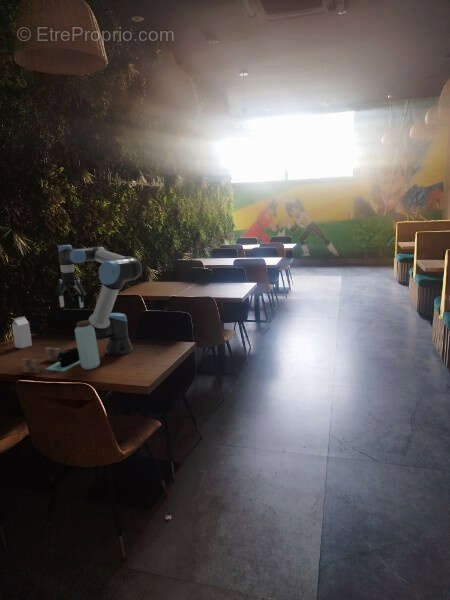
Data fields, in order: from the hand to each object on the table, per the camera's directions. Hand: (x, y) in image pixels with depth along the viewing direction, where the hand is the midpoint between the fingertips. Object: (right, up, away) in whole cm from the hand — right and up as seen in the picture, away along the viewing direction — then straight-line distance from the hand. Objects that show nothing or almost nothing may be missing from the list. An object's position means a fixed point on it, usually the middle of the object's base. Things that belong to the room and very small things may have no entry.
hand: (72, 307), depth 247 cm
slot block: (-8, -32, -20) cm, 39 cm away
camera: (+5, -31, -18) cm, 36 cm away
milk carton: (-37, -25, +16) cm, 47 cm away
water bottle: (+19, -32, -24) cm, 44 cm away
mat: (+4, -31, -19) cm, 37 cm away
